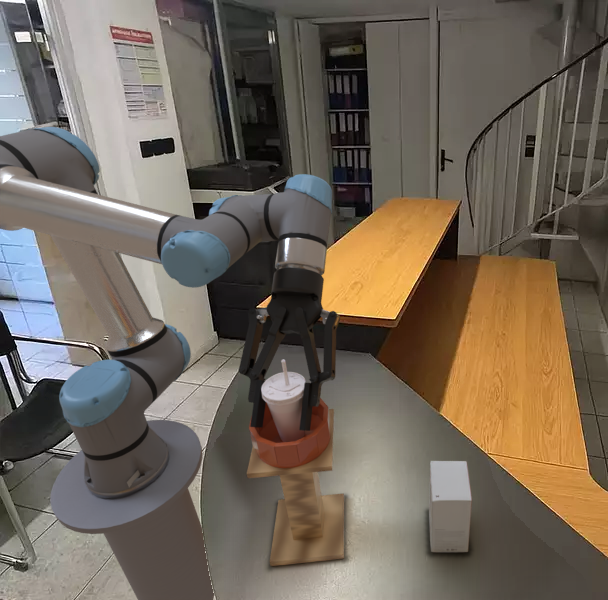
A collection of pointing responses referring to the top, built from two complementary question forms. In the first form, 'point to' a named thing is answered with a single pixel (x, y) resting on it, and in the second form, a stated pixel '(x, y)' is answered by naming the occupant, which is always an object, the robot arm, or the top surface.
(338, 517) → the pedestal
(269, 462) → the bowl
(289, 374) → the smoothie
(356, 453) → the top surface
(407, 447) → the top surface
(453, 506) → the small box
